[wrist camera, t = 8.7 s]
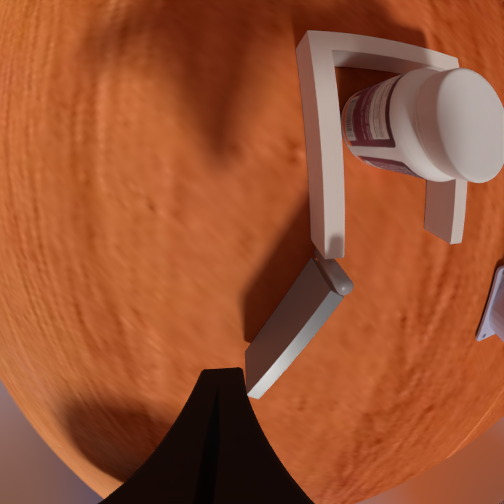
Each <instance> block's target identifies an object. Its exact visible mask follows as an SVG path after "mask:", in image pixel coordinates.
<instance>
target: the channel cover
mask: <svg viewBox="0 0 504 504" xmlns="http://www.w3.org/2000/svg"><path fill="white" fill-rule="evenodd" d="M314 255H315V257H316V258H317V260H318V261H317V260H316V259H314V258H312V257H311V258H310V260H309V261H308V263H307V264H306V266H305V267H304V269H303V270H302V272H301V273H300V275H299V276H298V278H297V279H296V281H295V282H294V283H293V285H292V286H291V288H290V289H289V291H288V292H287V294H286V295H285V296H284V298H283V299H282V301H281V302H280V304H279V305H278V307H277V308H276V309H275V311H274V312H273V314H272V315H271V316H270V318H269V319H268V321H267V322H266V323H265V325H264V326H263V328H262V329H261V330H260V332H259V333H258V334H257V336H256V337H255V339H254V340H253V341H252V343H251V344H250V345H249V347H248V348H247V349H246V351H245V369H246V391H247V395H248V396H250V397H253V398H256V399H259V398H260V397H261V396H262V395H263V394H264V393H265V392H266V391H267V390H268V389H269V387H270V386H271V385H272V384H273V383H274V382H275V381H276V380H277V379H278V378H279V376H280V375H281V374H282V373H283V372H284V371H285V370H286V369H287V367H288V366H289V365H290V364H291V363H292V362H293V360H294V359H295V358H296V357H297V356H298V355H299V353H300V352H301V351H302V350H303V349H304V347H305V346H306V345H307V344H308V343H309V341H310V340H311V339H312V338H313V337H314V335H315V334H316V333H317V332H318V330H319V329H320V328H321V327H322V325H323V324H324V323H325V322H326V320H327V319H328V318H329V316H330V315H331V314H332V312H333V311H334V310H335V309H336V307H337V306H338V305H339V303H340V302H341V301H342V299H343V298H344V297H343V295H347V294H349V293H350V292H351V291H352V289H353V282H352V281H351V280H350V278H349V277H348V276H347V274H346V273H345V272H344V270H343V269H342V268H341V266H340V265H339V264H338V262H337V261H336V260H335V259H324V258H323V256H322V255H321V253H320V252H319V250H318V249H317V248H315V250H314Z"/></svg>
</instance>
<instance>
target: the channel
mask: <svg viewBox="0 0 504 504" xmlns="http://www.w3.org/2000/svg"><path fill="white" fill-rule="evenodd" d="M296 56H297V64H298V72H299V80H300V88H301V97H302V107H303V117H304V128H305V140H306V153H307V167H308V183H309V202H310V227H311V240H312V242H313V243H314V245H315V246H316V248H317V249H318V250H319V252H320V253H321V255H322V256H323V258H324V259H334V258H342V257H344V240H345V202H344V168H343V149H342V135H341V122H340V111H339V101H338V92H337V84H336V76H335V68H334V66H339V67H352V68H362V69H371V70H379V71H386V72H393V73H399V74H404V73H406V72H409V71H412V70H416V69H423V68H426V69H433V70H437V71H440V72H442V71H446V70H450V69H455V68H459V64H458V59H457V58H455V57H452V56H449V55H446V54H443V53H440V52H436V51H433V50H429V49H426V48H422V47H418V46H415V45H411V44H406V43H402V42H397V41H393V40H388V39H382V38H377V37H371V36H364V35H357V34H349V33H340V32H329V31H314V30H307V32H306V33H305V35H304V36H303V38H302V40H301V41H300V43H299V45H298V46H297V48H296ZM466 193H467V181H466V180H461V179H456V178H455V179H453V180H450V181H445V182H435V181H430V180H427V183H426V208H425V223H424V229H425V230H427V231H429V232H430V233H432V234H434V235H436V236H437V237H439V238H441V239H443V240H444V241H446V242H448V243H449V244H455V243H461V242H462V235H463V227H464V218H465V207H466Z"/></svg>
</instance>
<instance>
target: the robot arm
mask: <svg viewBox="0 0 504 504" xmlns="http://www.w3.org/2000/svg"><path fill="white" fill-rule="evenodd" d="M494 334H496V335H497V336H498V337H499V338H500V339H501V340H502V341H503V342H504V265H503V266H500V267H498V268H497V270H496V273H495V277H494V281H493V285H492V289H491V293H490V296H489V299H488V303H487V306H486V309H485V312H484V316H483V319H482V321H481V324H480V327H479V330H478V333H477V335H476V340H477V341H480V340H483V339H485V338H487V337H490V336H492V335H494ZM98 504H314V503H313V501H312V500H311V499H310V498H309V497H308V496H307V495H306V494H305V492H304V491H303V490H302V489H301V488H300V486H299V485H298V484H297V483H296V482H295V480H294V479H293V478H292V477H291V475H290V474H289V473H288V471H287V470H286V468H285V467H284V466H283V464H282V463H281V461H280V460H279V458H278V457H277V455H276V454H275V452H274V450H273V449H272V447H271V445H270V444H269V442H268V440H267V438H266V436H265V435H264V433H263V431H262V429H261V427H260V425H259V423H258V421H257V418H256V416H255V414H254V411H253V409H252V406H251V404H250V401H249V398H248V395H247V391H246V385H245V379H244V373H243V369H241V368H240V367H237V368H222V369H204V370H203V371H202V372H201V373H200V376H199V378H198V380H197V383H196V385H195V387H194V389H193V391H192V393H191V395H190V397H189V398H188V400H187V402H186V404H185V406H184V407H183V409H182V411H181V413H180V414H179V416H178V418H177V419H176V421H175V422H174V424H173V425H172V427H171V428H170V430H169V431H168V433H167V434H166V436H165V437H164V439H163V440H162V442H161V443H160V444H159V446H158V447H157V448H156V449H155V451H154V452H153V453H152V454H151V456H150V457H149V458H148V459H147V460H146V461H145V462H144V464H143V465H142V466H141V467H140V468H139V469H138V470H137V471H136V472H135V473H134V474H133V475H132V476H131V477H130V478H129V479H128V480H127V481H126V482H125V483H123V484H122V485H121V486H120V487H119V488H118V489H116V490H115V491H114V492H113V493H112V494H110V495H109V496H108V497H107V498H105V499H104V500H103V501H101V502H100V503H98ZM500 504H504V501H503V502H501V503H500Z"/></svg>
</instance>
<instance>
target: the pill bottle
mask: <svg viewBox="0 0 504 504" xmlns="http://www.w3.org/2000/svg"><path fill="white" fill-rule="evenodd" d="M341 132H342V135H343V138H344V141H345V143H346V145H347V147H348V148H349V150H350V151H351V153H352V154H353V155H354V156H355V157H356V158H358V159H359V160H360V161H362V162H363V163H365V164H367V165H370V166H373V167H377V168H381V169H386V170H391V171H395V172H399V173H403V174H407V175H412V176H415V177H419V178H422V179H427V180H430V181H435V182H445V181H450V180H453V179H455V178H456V179H461V180H466V181H470V182H475V183H483V182H487V181H489V180H490V179H492V178H494V177H495V176H496V175H497V174H498V172H499V171H500V170H501V168H502V166H503V164H504V109H503V106H502V104H501V101H500V99H499V97H498V96H497V94H496V92H495V91H494V89H493V88H492V86H491V85H490V84H489V83H488V82H487V81H486V80H485V79H484V78H483V77H482V76H481V75H479V74H478V73H476V72H475V71H472V70H470V69H466V68H455V69H450V70H446V71H442V72H440V71H437V70H433V69H426V68H423V69H416V70H412V71H409V72H406V73H404V74H401V75H398V76H395V77H393V78H390V79H388V80H385V81H382V82H380V83H377V84H375V85H372V86H370V87H367V88H365V89H363V90H360V91H358V92H357V93H355V94H354V95H352V96H351V97H350V98H349V99H348V101H347V102H346V104H345V106H344V108H343V111H342V114H341Z"/></svg>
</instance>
